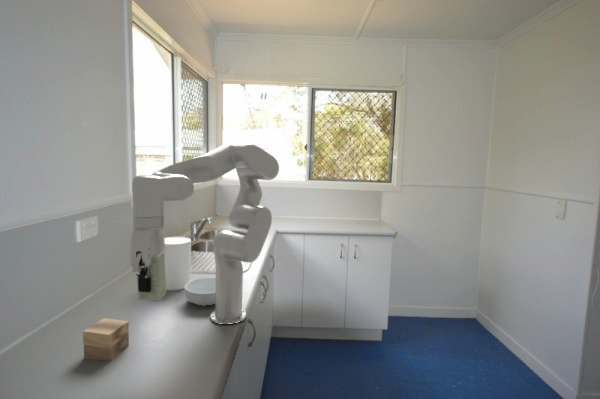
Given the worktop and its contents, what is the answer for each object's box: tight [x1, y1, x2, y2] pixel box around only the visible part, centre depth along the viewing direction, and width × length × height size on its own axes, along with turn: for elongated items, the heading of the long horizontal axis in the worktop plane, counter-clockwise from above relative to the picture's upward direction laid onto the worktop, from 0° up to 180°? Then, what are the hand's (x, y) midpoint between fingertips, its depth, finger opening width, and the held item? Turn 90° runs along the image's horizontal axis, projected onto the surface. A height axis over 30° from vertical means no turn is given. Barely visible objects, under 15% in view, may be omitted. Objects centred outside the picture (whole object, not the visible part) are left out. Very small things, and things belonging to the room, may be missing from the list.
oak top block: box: [82, 317, 130, 349], centre depth 96 cm, size 8×8×4 cm
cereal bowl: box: [183, 277, 215, 307], centre depth 132 cm, size 17×17×7 cm
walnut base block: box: [83, 334, 130, 362], centre depth 96 cm, size 8×8×4 cm
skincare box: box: [136, 252, 167, 301], centre depth 91 cm, size 6×4×12 cm
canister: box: [164, 236, 192, 291], centre depth 147 cm, size 14×14×20 cm
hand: (150, 287), depth 91 cm, fingers closed on skincare box, 4 cm apart
